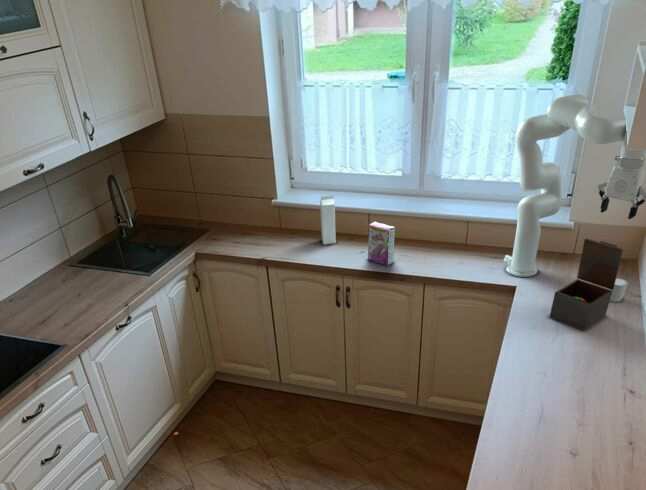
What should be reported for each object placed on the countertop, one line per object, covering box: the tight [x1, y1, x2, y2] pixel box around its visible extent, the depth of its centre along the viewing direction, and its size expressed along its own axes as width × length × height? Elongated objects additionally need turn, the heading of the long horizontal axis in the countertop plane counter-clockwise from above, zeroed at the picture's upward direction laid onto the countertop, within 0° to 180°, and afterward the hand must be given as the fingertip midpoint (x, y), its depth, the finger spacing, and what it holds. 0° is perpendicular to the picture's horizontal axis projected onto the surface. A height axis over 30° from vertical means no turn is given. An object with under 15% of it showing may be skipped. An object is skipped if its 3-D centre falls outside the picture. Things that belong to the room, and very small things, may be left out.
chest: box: [549, 278, 612, 332], centre depth 216 cm, size 15×14×10 cm
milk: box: [319, 195, 337, 245], centre depth 279 cm, size 6×6×22 cm
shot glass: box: [606, 277, 629, 303], centre depth 227 cm, size 7×7×7 cm
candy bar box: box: [367, 221, 396, 266], centre depth 260 cm, size 11×5×16 cm, turn 48°
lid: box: [576, 238, 624, 290], centre depth 212 cm, size 16×14×5 cm
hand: (617, 214), depth 202 cm, fingers open, 9 cm apart
